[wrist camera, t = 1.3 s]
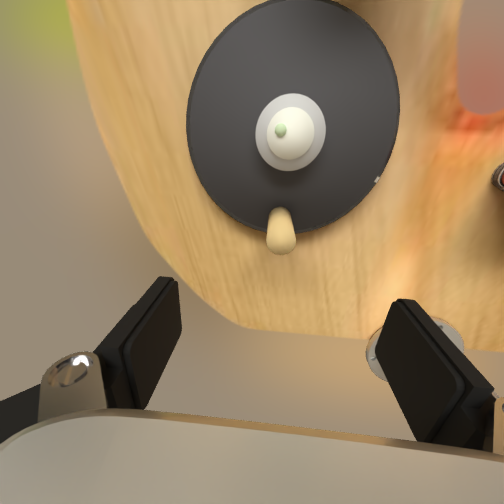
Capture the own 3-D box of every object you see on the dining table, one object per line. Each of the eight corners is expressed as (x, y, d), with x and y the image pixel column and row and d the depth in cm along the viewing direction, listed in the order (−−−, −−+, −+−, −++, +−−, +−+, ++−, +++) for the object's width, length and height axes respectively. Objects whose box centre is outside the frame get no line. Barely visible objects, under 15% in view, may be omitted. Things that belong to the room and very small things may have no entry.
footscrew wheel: (427, 144, 23) (505, 144, 15) (274, 257, 29) (274, 297, 22) (309, -60, 18) (335, -213, 10) (157, 127, 24) (102, 119, 17)
